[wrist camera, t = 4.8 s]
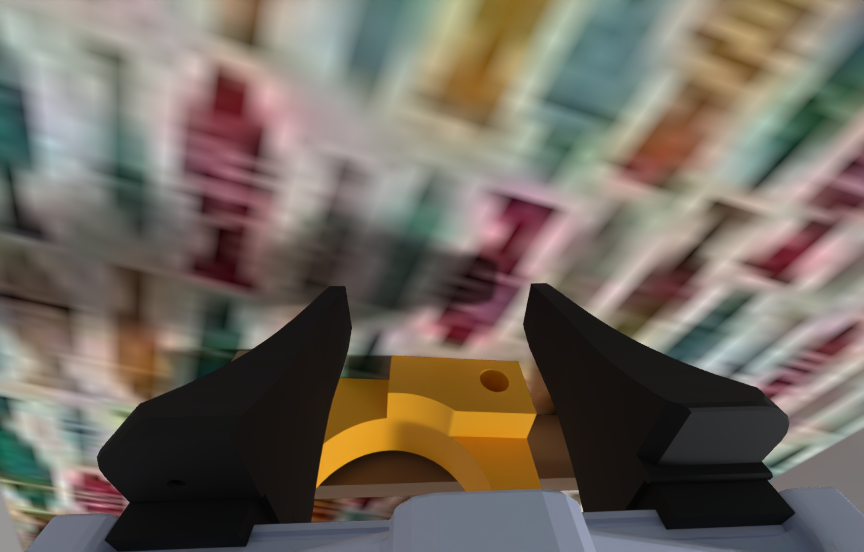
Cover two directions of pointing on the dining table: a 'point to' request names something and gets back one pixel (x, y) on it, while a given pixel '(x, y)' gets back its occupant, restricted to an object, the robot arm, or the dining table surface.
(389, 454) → the bracket
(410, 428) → the pipe clamp
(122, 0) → the dining table surface
